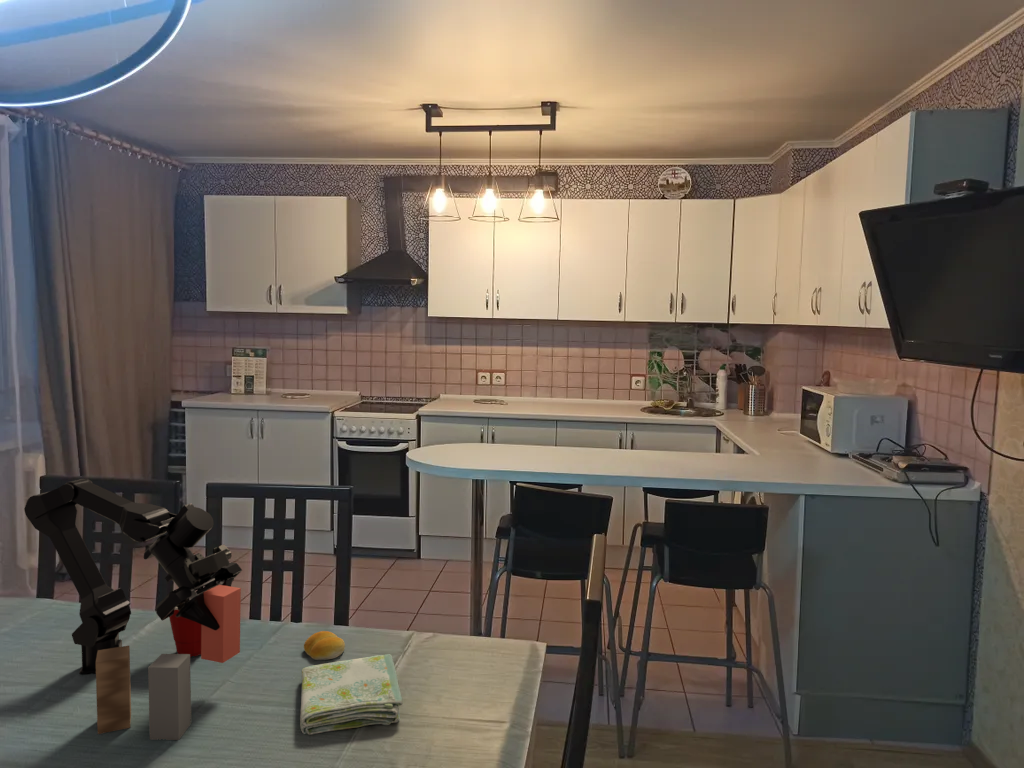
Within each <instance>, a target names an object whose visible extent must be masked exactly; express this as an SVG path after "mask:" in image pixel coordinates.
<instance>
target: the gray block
mask: <svg viewBox="0 0 1024 768" xmlns="http://www.w3.org/2000/svg"><path fill="white" fill-rule="evenodd" d="M147 668H148V669H147V671H148V673H147V674H148V676H147V677H148V717H149V718H148V719H149V720H148V721H149V722H148V724H149V740H150V741H151V740H153V741H154V740H155V741H179V740H180V739H181V738H182V736H183V735H184V734H185V733H186V731H187V730H188V729H189V727H190V726H191V725H192V690H191V684H192V683H191V677H192V676H191V675H192V674H191V657H190V654H178V653H161V654H159V656H158V657H157V658H156V659H155V660H153V662H152V663H151V664H150V665H149V666H148V667H147ZM190 724H191V725H190ZM158 739H159V740H158ZM161 739H163V740H161ZM164 739H166V740H164Z"/></svg>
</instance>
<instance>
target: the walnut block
mask: <svg viewBox="0 0 1024 768" xmlns="http://www.w3.org/2000/svg"><path fill="white" fill-rule="evenodd" d="M130 648H131V647H130V645H122V647H116V648H110V649H103V650H98V652H97V658H96V673H95V684H96V685H95V686H96V719H97V720H96V721H97V724H96V725H97V735H101V734H105V733H111V732H115V731H121V730H126V729H131V723H132V722H131V721H132V720H131V719H132V701H131V700H132V699H131V698H132V697H131V689H132V688H131V658H130V657H131V655H130V653H131V652H130Z"/></svg>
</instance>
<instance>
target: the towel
mask: <svg viewBox="0 0 1024 768" xmlns="http://www.w3.org/2000/svg"><path fill="white" fill-rule="evenodd" d="M300 699H301V700H300V703H301V704H300V716H299V720H300V721H299V723H300V724H299V726H300V730H301V733H302V734H304V735H305V734H307V735H309V736H310V735H314V734H315V735H316V734H320V733H321V734H322V733H326V732H333V731H340V730H347V729H354V728H361V727H365V726H373V725H383V726H389V725H391V724H392V723H398V722H400V719H401V717H400V709H399V708H400V707H399V706H402V705H403V698H402V694H401V689H400V686H399V680H398V675H397V672H396V666H395V664H394V659H393V657H392V654H390V653H386V654H379V655H372V656H367V657H360V658H351V659H346V660H339V661H333V662H332V661H331V662H328V663H327V662H326V663H320V664H315V665H309V666H306V667H304V668H302V669H301V695H300Z"/></svg>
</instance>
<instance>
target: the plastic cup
mask: <svg viewBox="0 0 1024 768" xmlns="http://www.w3.org/2000/svg"><path fill="white" fill-rule="evenodd" d="M177 608H178V607H175V609H174V614H173V615H172V616H170V617H168V618H169V622H170V626H171V627H170V628H171V633H172V637H173V640H174V644H175V649H176V652H177V654H190V658H192V656H194V657H197V656H201V625H202V624H199V623H197V622H195V621H192V620H189V619H186V618H183V617H176V616H175V615H176V614H177V613H178V612H179V610H178V609H177Z"/></svg>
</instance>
